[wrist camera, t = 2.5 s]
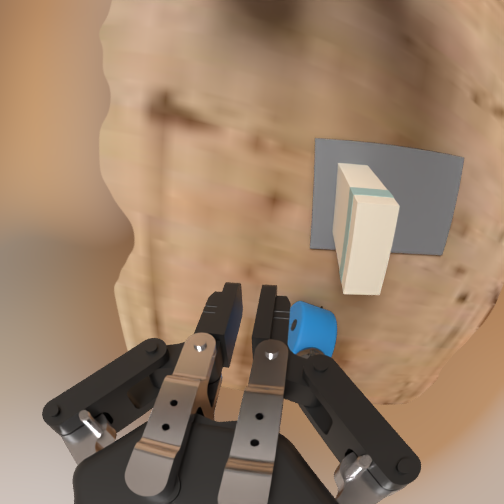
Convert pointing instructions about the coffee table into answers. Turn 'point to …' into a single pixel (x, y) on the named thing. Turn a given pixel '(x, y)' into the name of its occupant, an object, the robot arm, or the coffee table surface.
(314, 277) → the coffee table surface
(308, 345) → the alarm clock
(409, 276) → the coffee table surface
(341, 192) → the box
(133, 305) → the coffee table surface
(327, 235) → the mat
